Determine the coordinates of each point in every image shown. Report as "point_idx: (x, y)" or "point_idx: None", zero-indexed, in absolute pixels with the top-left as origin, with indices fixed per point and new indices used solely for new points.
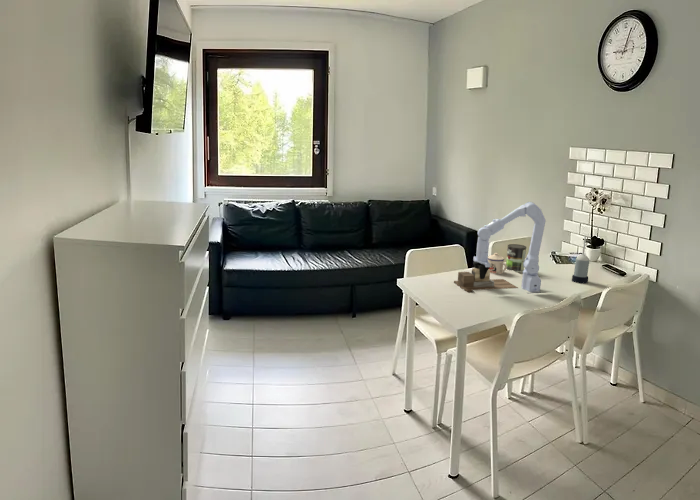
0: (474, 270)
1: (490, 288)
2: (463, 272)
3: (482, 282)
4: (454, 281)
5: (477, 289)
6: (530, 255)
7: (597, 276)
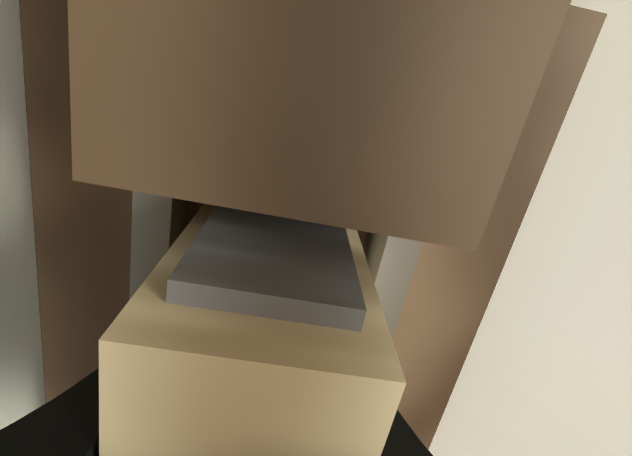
0: (214, 332)
1: (68, 319)
2: (476, 44)
3: (130, 294)
4: (581, 9)
5: (33, 107)
6: None
7: None
